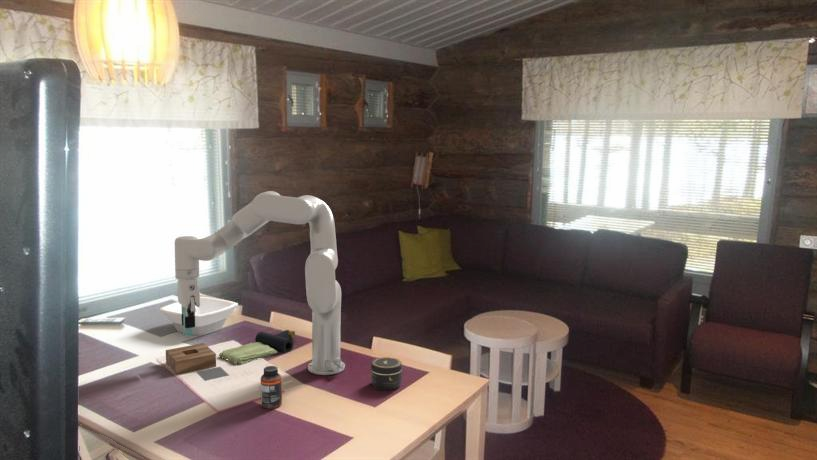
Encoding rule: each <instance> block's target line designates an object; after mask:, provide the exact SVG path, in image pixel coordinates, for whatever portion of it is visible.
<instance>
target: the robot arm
mask: <svg viewBox="0 0 817 460" xmlns="http://www.w3.org/2000/svg"><path fill="white" fill-rule="evenodd" d="M332 212H333V211H332V210H331V208H330V207H329V205H327V203H326V202H325V201H324V200H322V199H320V198H319V197H316V196H313V195H307V194H305V195H301V196H298V197H296V196H295V197H294V196H285V195H281V194H280V193H279V192H276V191H274V190H269V191H268V190H267V191H264V192H261V193H258V194H257V195H256V196H254V198H253V200H252V201H251V202H249V203H247V205H246V206H244V207H243V208H241V209H240V210H238V211H237V212H234V214H233V215H232V217H231V220H229V221H228V223H226V224H225V225H224V226H222V227H221V228H219V229H218V230H217V231H214V232H213V234H211V235H209V236H205V237H203V238H197V237H196V236H191V235H189V236H188V235H187V236H185V235H184V236H179V237H176V238H175V239H174V270H175V271H174V273H175V276H174V277H175V279H176V280H177V302H179V303H180V304H181V312H182V325H184V322H183V307H185V309H186V317H185V328H192V327H195V312H196V309H195V306H197V307H199V306H200V297H201V296H200V295H201V294H200V285H199V278H200V261H203V262H207V261H208V262H209V261H212V260H215V259H216V258H218V257H220V256H222V255H223V254H225V253H227V252H228V251H229V250H230V249H232V248H233V247H234V246H236V245H237V244H238V243H240V242H241V241H242V240H244V239H245V238H248V237H249V236H251V235H252V234H253V233H255V232H256V231H257V230H259V229H260V228H262V227H263V226H264V225H266V224H268V223H269V222H270V221H271V222H277V223H284V224H293V225H305V224H309V239H310V254H309V255H308V257H307V258H306V261H305V264H304V265H305V266H304V275H305V277H304V278H305V289H306V291H305V292H306V301H307V305H308V306H309V308H310V309H311V310H312V312H311V313H312V315H311V318H312V319H311V320H312V321H311V323H312V324H311V333H312V334H311V340H312V341H311V343H312V344H311V347H312V348H311V352H312V357H311V358H312V361H311V362H310V363H308V365H307V370H308V372H310V373H311V374H314V375H318V376H319V375H320V376H331V375H335V374H339V373H342V372H344V371H345V369H346V363H344V361H342V359H341V325H342V323H341V318H342V317H341V314H342V312H341V311H342V309H341V308H342V288H341V285H340V283H339V282H338V280H336V269H337V268H338V263H339V259H338V249H337V238H336V237H337V236H336V225H335V218H334V215H333V213H332ZM188 306H190V307H188ZM188 309H190V310H189V311H188Z"/></svg>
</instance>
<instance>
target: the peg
mask: <svg viewBox="0 0 817 460" xmlns="http://www.w3.org/2000/svg"><path fill="white" fill-rule="evenodd" d="M188 307H190V306H188ZM189 310H190V309H188V311H189ZM185 317H186V309H185V307H183V322H184V333H183V336H185V337H191V336H194V335H193V327H192V328H185Z"/></svg>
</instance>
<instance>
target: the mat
mask: <svg viewBox="0 0 817 460" xmlns="http://www.w3.org/2000/svg"><path fill="white" fill-rule="evenodd" d="M196 373H197V374H198V375H199V376H200V378H202V380H203V381H210V380H214V379H221V378H225V377H228V376H230V373H227V372H226V370H224V369H223V368H222V367H221V366H216V367H212V368H207V369H203V370H198V371H196Z"/></svg>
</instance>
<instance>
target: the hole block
mask: <svg viewBox="0 0 817 460" xmlns="http://www.w3.org/2000/svg"><path fill="white" fill-rule="evenodd" d="M165 364H166V365H167V366H168V367H169V368H170V369H171V371H173V372H174V374H175V375H177V376H178V375H183V374H187V373H193V372H198V371H203V370H207V369H212V368H217V353H216V352H215V351H214V350H212V348H210V347H209V346H208V345H207V344H205V343H204V342H202V343H197V344H193V345H192V344H191V345H186V346H181V347H175V348H169V349H165Z"/></svg>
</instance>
